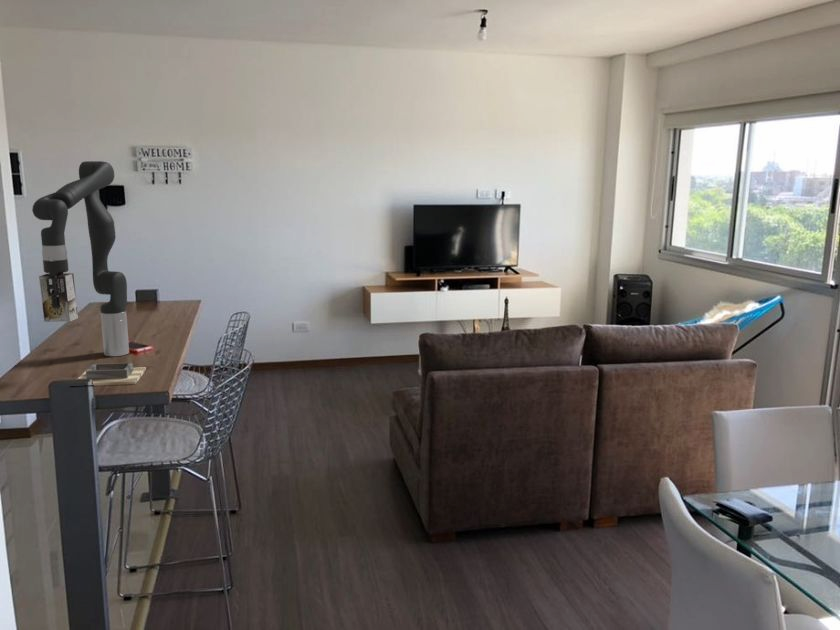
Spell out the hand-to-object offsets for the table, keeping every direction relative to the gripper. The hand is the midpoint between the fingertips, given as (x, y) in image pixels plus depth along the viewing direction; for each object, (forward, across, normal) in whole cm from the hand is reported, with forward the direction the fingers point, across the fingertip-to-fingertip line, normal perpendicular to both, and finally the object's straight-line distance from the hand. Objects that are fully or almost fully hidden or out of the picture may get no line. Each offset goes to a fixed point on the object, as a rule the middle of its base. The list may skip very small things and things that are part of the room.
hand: (59, 305), depth 233 cm
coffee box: (+5, 0, 0) cm, 5 cm away
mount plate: (+25, +5, +16) cm, 30 cm away
